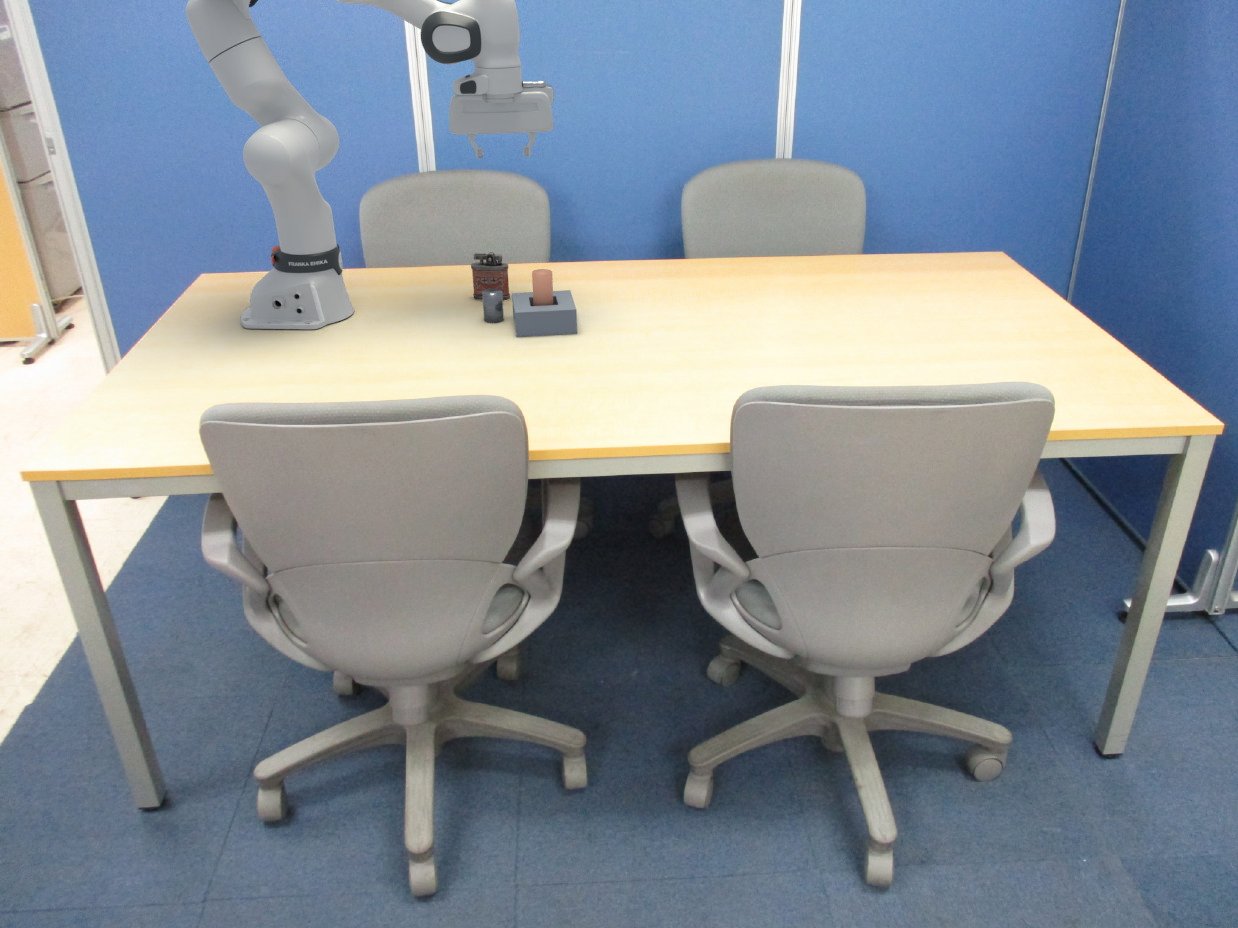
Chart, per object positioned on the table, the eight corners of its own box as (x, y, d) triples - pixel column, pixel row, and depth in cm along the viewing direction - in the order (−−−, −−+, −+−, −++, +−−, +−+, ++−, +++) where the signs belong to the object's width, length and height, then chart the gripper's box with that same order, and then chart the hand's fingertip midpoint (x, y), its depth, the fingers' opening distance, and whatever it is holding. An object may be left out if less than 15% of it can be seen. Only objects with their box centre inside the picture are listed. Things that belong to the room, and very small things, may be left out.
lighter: (511, 296, 216) (509, 251, 211) (508, 301, 213) (505, 255, 208) (475, 295, 217) (472, 250, 212) (471, 300, 214) (468, 254, 209)
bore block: (516, 337, 194) (515, 312, 192) (513, 316, 205) (511, 293, 202) (577, 333, 196) (576, 309, 193) (570, 313, 206) (570, 290, 204)
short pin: (484, 323, 201) (482, 295, 198) (484, 317, 204) (482, 289, 202) (504, 322, 201) (502, 294, 199) (503, 316, 205) (501, 288, 202)
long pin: (535, 328, 198) (532, 275, 193) (533, 322, 202) (531, 269, 196) (554, 327, 199) (553, 274, 193) (553, 321, 202) (551, 268, 197)
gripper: (551, 78, 192) (554, 152, 199) (445, 81, 190) (451, 155, 196) (554, 83, 187) (557, 158, 193) (445, 85, 184) (451, 161, 191)
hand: (503, 156), depth 195 cm, fingers open, 8 cm apart
